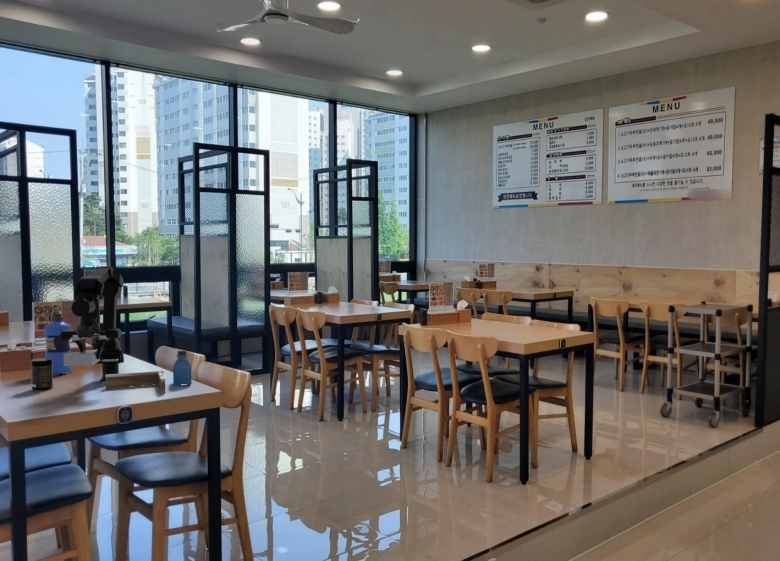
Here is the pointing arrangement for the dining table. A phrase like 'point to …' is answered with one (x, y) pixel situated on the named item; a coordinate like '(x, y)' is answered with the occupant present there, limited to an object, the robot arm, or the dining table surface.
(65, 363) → the bracket
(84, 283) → the robot arm
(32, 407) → the dining table surface
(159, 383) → the tan l-shaped wall
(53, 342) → the water bottle
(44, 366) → the supplement container
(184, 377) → the blue corked bottle
